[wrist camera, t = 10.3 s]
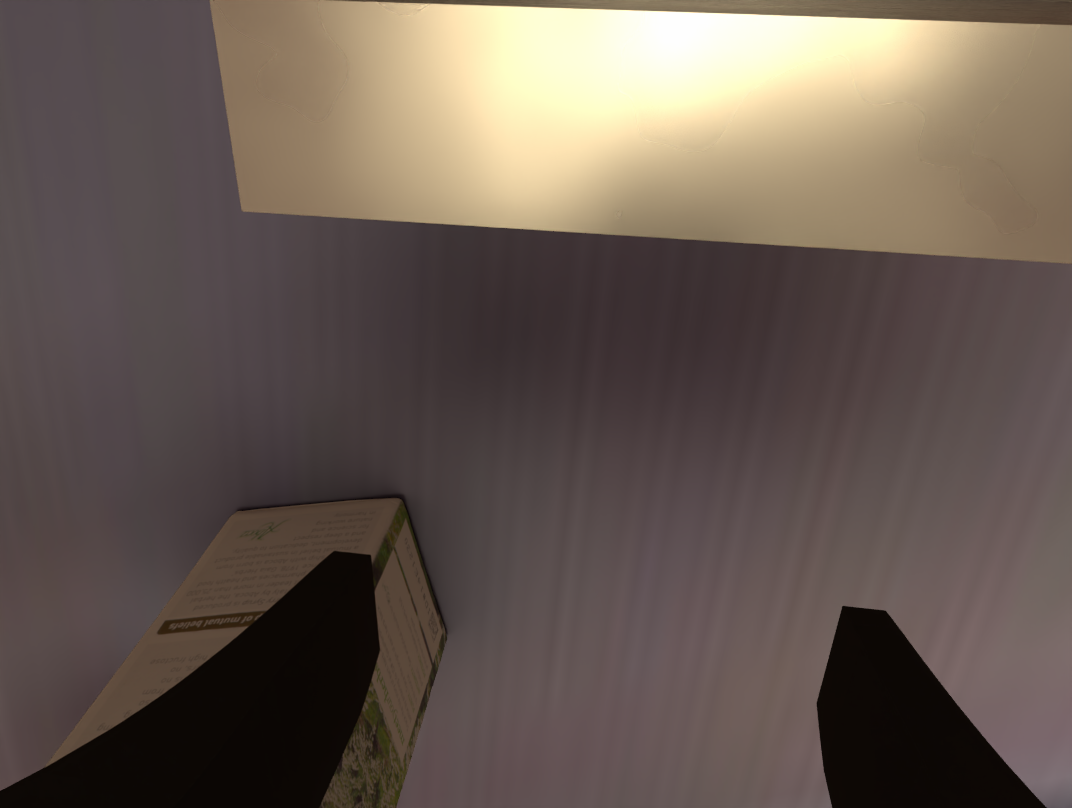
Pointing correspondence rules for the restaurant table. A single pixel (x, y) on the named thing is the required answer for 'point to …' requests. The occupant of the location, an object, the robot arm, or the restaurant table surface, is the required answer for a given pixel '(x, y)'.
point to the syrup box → (256, 585)
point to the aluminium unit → (664, 118)
